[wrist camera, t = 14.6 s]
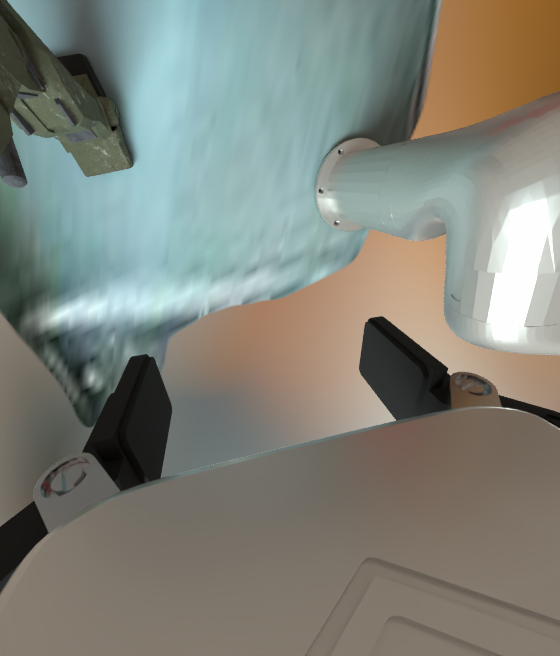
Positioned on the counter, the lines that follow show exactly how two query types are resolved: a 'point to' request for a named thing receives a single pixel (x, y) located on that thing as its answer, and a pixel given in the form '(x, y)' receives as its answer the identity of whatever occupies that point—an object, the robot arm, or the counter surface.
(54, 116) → the mechanical leg
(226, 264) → the counter surface
